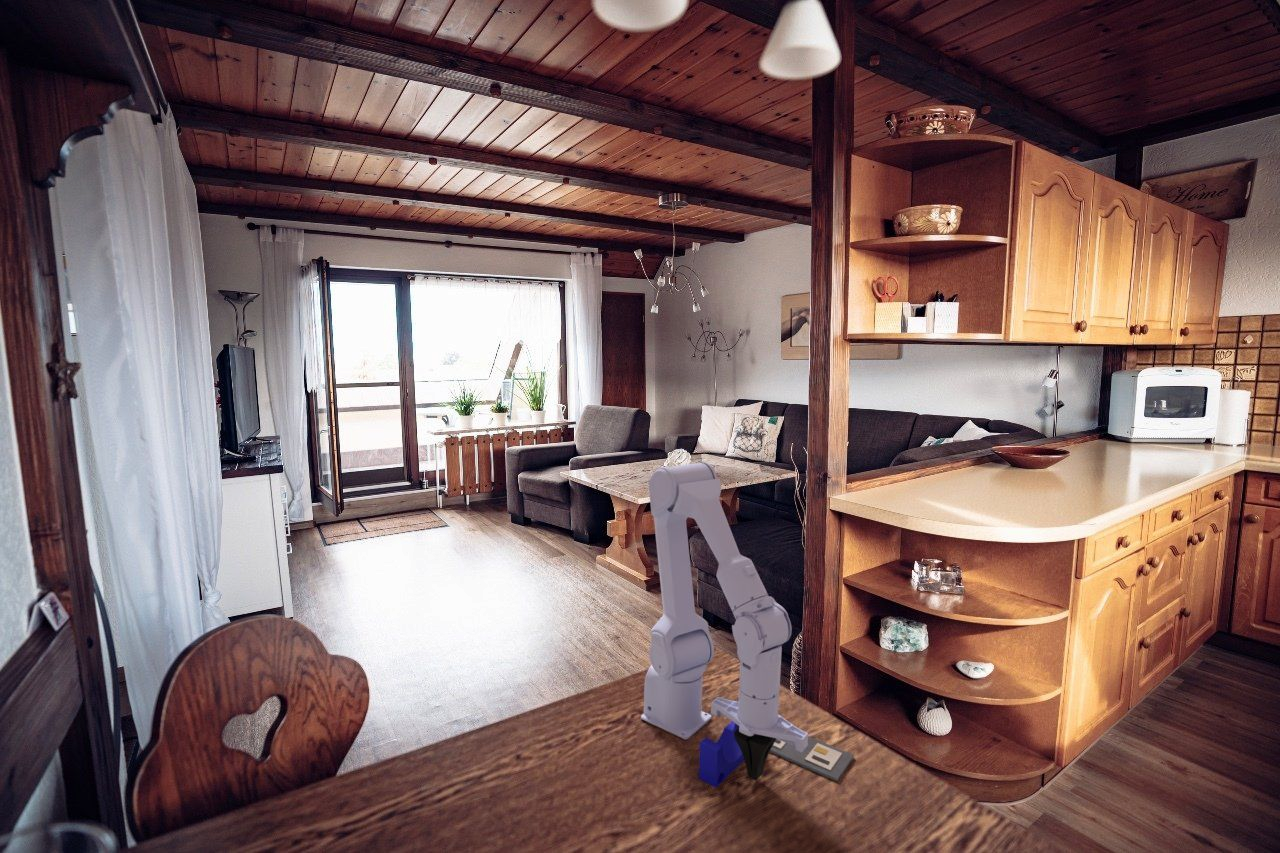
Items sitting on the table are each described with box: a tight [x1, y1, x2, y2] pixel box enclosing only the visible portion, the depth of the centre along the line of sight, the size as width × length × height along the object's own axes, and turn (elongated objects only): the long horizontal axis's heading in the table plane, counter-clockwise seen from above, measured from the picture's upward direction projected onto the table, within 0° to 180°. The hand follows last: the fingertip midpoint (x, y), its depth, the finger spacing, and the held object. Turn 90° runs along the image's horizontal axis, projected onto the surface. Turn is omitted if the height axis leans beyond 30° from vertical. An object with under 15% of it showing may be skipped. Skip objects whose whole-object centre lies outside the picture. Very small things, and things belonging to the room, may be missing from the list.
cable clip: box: [698, 720, 745, 789], centre depth 97 cm, size 12×4×6 cm, turn 141°
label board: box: [769, 735, 855, 783], centre depth 100 cm, size 15×7×1 cm, turn 53°
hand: (755, 775), depth 93 cm, fingers closed
